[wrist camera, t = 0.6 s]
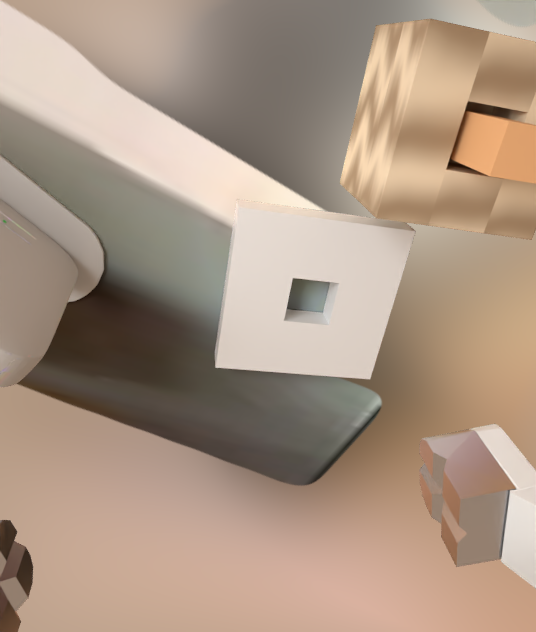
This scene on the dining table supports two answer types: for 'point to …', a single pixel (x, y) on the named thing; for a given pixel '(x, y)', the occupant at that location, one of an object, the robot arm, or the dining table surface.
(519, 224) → the notched wooden cube
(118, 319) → the dining table surface
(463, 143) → the peg
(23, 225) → the wireless router
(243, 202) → the socket plate
